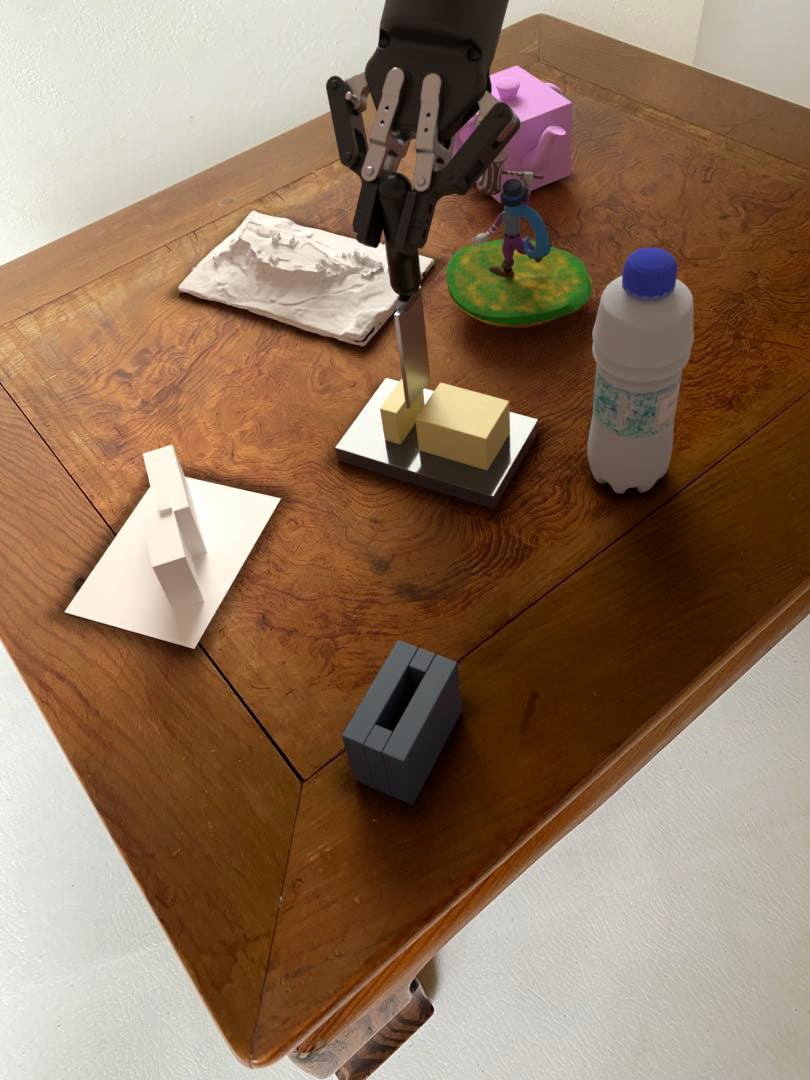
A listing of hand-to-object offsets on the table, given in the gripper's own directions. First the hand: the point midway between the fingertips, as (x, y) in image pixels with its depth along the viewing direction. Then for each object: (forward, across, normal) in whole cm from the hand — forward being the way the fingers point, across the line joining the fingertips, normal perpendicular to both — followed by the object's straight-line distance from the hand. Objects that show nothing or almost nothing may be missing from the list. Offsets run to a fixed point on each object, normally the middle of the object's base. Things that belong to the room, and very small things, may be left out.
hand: (386, 248), depth 65 cm
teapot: (-14, -9, +43) cm, 46 cm away
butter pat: (+12, -2, +14) cm, 19 cm away
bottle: (+11, +16, +18) cm, 26 cm away
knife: (+9, 0, +12) cm, 15 cm away
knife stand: (+30, +11, -2) cm, 33 cm away
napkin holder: (+26, -13, +3) cm, 29 cm away
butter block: (+12, +4, +14) cm, 19 cm away
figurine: (0, 0, +29) cm, 29 cm away
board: (+13, +1, +16) cm, 20 cm away
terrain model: (+2, -21, +27) cm, 34 cm away
